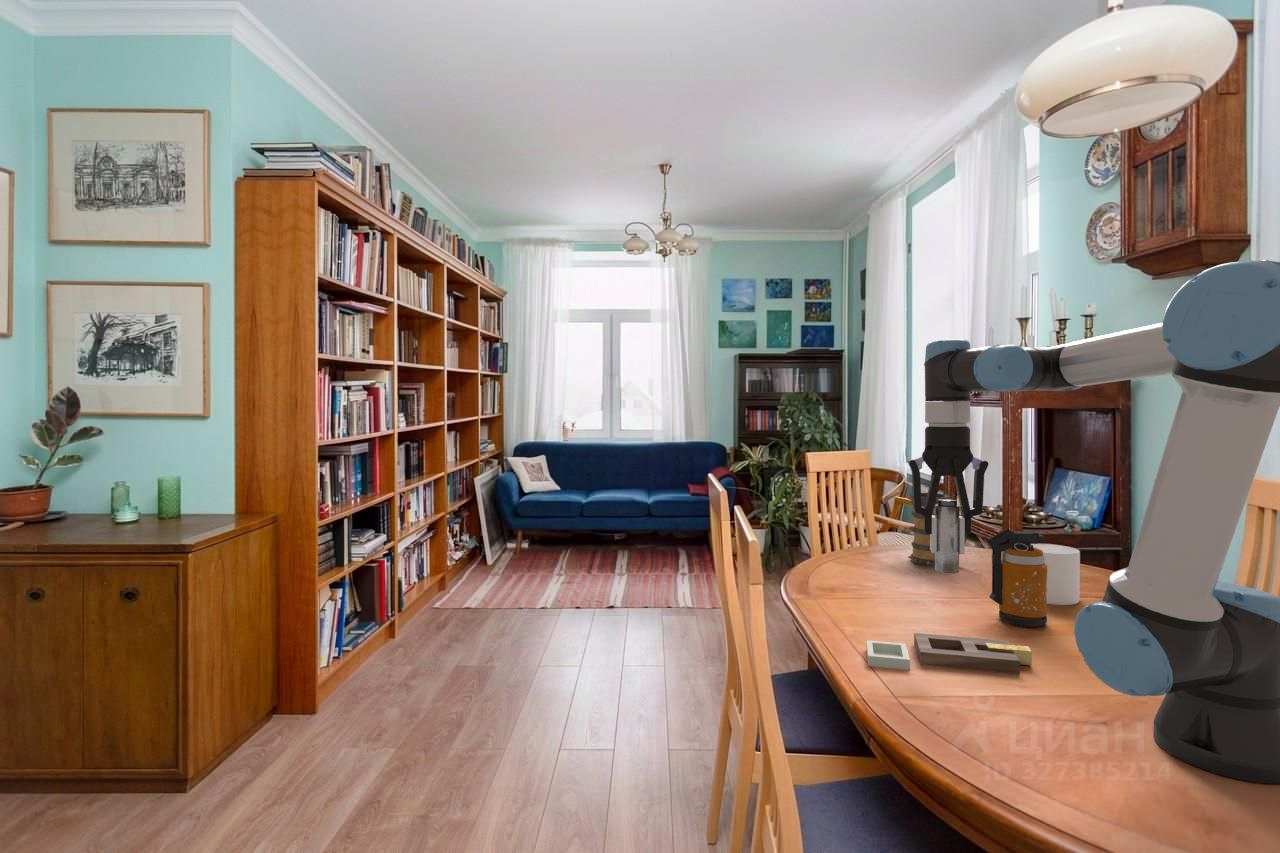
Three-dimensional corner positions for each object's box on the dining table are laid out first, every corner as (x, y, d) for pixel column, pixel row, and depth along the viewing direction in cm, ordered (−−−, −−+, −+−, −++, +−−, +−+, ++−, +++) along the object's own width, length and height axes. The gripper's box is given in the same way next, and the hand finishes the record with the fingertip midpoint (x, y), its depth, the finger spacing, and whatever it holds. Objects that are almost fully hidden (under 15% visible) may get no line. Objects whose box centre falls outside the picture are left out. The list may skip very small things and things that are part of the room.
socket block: (1019, 677, 115) (1019, 660, 115) (920, 668, 119) (920, 651, 119) (1005, 656, 124) (1005, 640, 124) (914, 648, 129) (914, 632, 129)
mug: (909, 555, 205) (909, 491, 204) (971, 561, 196) (972, 494, 196) (903, 564, 193) (904, 496, 193) (969, 571, 185) (970, 500, 184)
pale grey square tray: (910, 673, 117) (910, 659, 117) (868, 669, 119) (868, 655, 119) (905, 656, 125) (905, 643, 125) (866, 653, 127) (866, 640, 127)
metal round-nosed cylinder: (960, 573, 120) (961, 502, 119) (936, 572, 121) (936, 501, 120) (957, 568, 123) (957, 499, 123) (933, 567, 124) (933, 498, 124)
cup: (1031, 603, 156) (1031, 553, 155) (1016, 589, 167) (1016, 542, 167) (1087, 606, 153) (1088, 555, 153) (1068, 592, 164) (1068, 544, 164)
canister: (1053, 630, 138) (1054, 534, 137) (996, 627, 140) (996, 533, 139) (1037, 616, 147) (1038, 526, 146) (983, 613, 149) (983, 525, 148)
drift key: (1031, 665, 118) (1032, 651, 117) (988, 661, 120) (988, 647, 119) (1028, 660, 120) (1028, 646, 120) (985, 656, 122) (985, 642, 122)
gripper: (994, 424, 122) (993, 549, 123) (895, 424, 127) (895, 545, 128) (1004, 425, 115) (1003, 559, 116) (899, 426, 120) (899, 554, 121)
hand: (947, 551), depth 122 cm, fingers closed on metal round-nosed cylinder, 4 cm apart
